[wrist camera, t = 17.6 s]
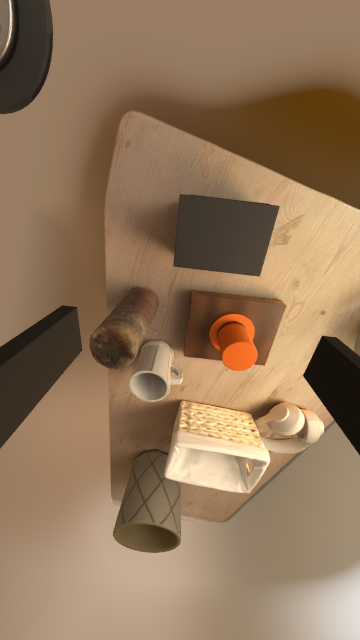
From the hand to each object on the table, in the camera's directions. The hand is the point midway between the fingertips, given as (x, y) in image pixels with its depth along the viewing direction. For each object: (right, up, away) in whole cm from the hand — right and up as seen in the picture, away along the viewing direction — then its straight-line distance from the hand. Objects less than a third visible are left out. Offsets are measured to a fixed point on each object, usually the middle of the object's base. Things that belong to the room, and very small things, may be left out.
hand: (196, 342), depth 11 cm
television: (+6, +18, +29) cm, 35 cm away
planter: (-9, -51, +64) cm, 83 cm away
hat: (+11, -2, +36) cm, 37 cm away
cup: (-6, -7, +43) cm, 44 cm away
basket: (+8, -30, +53) cm, 61 cm away
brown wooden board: (+11, 0, +38) cm, 40 cm away
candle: (-9, +6, +37) cm, 38 cm away
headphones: (+30, -30, +52) cm, 67 cm away
